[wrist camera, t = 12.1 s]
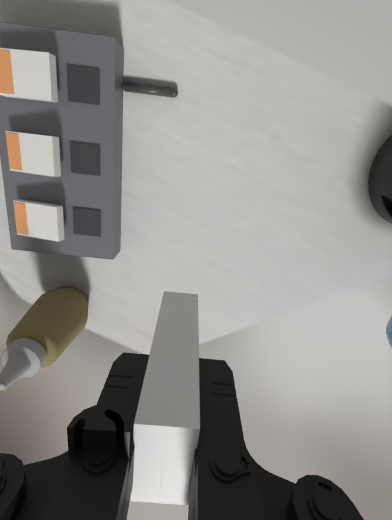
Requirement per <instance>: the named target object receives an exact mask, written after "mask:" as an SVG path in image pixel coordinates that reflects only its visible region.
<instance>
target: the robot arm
mask: <svg viewBox="0 0 392 520" xmlns="http://www.w3.org/2000/svg"><path fill="white" fill-rule="evenodd" d="M369 194H370V199H371V202H372V204H373V206H374V208H375V210H376V211H377V212H378V213H379V215H380V216H381V217H383V218H384V219H385V220H387V221H388V222H390V223H392V135H391V136H390V137H389V139H388V140H387V141H386V142H385V143H384V145H383V146H382V147H381V149H380V150H379V152H378V154H377V156H376V158H375V160H374V162H373V165H372V168H371V171H370V176H369ZM386 334H387V338H388V340H389V344H390V345H391V348H392V317H391V318H390V320H389V322H388V324H387V327H386ZM67 435H68V451H67V452H65V453H63V454H61V455H60V456H57V457H54V458H51V459H47V460H44V461H40V462H35V463H31V464H27V465H23V463H22V460H20V459H19V458H17V457H16V456H15V455H11V454H3V453H1V454H0V520H126V519H127V513H128V507H129V502H130V501H138V502H153V503H167V504H181V505H188V502H189V512H188V514H189V515H188V520H364V519H363V518H362V516H361V515H360V513H359V512H358V510H357V509H356V507H355V505H354V504H353V502H352V501H351V500H350V499H349V497H348V496H347V495H346V494H345V493H344V491H343V490H342V489H341V488H339V487H338V486H337V485H335V484H334V483H333V482H332V481H330V480H328V479H326V478H323V477H321V476H318V475H306V476H304V477H302V478H301V479H298V481H297V483H296V484H295V483H293V482H290V481H288V480H286V479H283V478H281V477H279V476H276V475H274V474H272V473H270V472H268V471H266V470H265V469H263V468H262V467H261V466H260V465H258V464H257V463H256V462H255V460H254V459H253V458H252V457H251V456H250V454H249V452H248V450H247V448H246V445H245V442H244V437H243V432H242V425H241V420H240V414H239V408H238V402H237V398H236V390H235V387H234V378H233V373H232V370H231V369H230V368H229V366H228V365H227V363H226V362H225V361H224V360H213V359H202V358H199V335H198V295H196V294H186V293H176V292H166V291H164V294H163V298H162V303H161V307H160V312H159V316H158V320H157V325H156V329H155V333H154V338H153V342H152V347H151V351H150V355H146V354H134V353H123V354H121V355H120V356H119V357H118V358H117V359H116V360H115V361H114V362H113V365H112V367H111V369H110V372H109V375H108V377H107V380H106V382H105V385H104V388H103V390H102V392H101V395H100V397H99V400H98V402H97V405H95V406H93V407H90V408H87V409H85V410H84V411H82V412H81V413H80V414H78V415H77V416H75V417H74V418H73V420H72V421H71V423H70V424H69V426H68V427H67Z"/></svg>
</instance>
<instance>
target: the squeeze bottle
mask: <svg viewBox="0 0 392 520" xmlns="http://www.w3.org/2000/svg"><path fill="white" fill-rule="evenodd" d="M87 317H88V302H87V299H86V297H85V296H84V294H83V293H81V292H80V291H79V290H77V289H74V288H71V287H63V288H60V289H56V290H53V291H50V292H47V293H45V294H42V295H41V296H40V297H39V298H38V300H37V301H36V302H35V303H34V304H33V306H32V307H31V308H30V309H29V310H28V312H27V313H26V314H25V315H24V317H23V318H22V319H21V320H20V322H19V323H18V324H17V325H16V327H15V328H14V329H13V330H12V331H11V333H10V334H9V335H8V338H7V343H6V344H7V348H6V349H5V350H4V351H3V352H2V355H1V361H2V364H3V366H4V368H3V370H2V372H1V374H0V390H4V389H6V388H7V387H8V386H10V385H11V384H12V383H13V382H15V381H16V380H17V379H18V378H19V377H30V376H33V375H35V374H36V373H37V372H38V371H39V370H40V369H41V368H43V367H46V366H49V365H51V364H52V363H53V362H54V361H55V360H56V359H57V358H58V357H59V356H60V355H61V354H62V352H63V351H64V350H65V349H66V348H67V347H68V346H69V344H70V343H71V342H72V341H73V340H74V339H75V337H76V336H77V335H78V334H79V333H80V332H81V330H82V329H83V328H84V327H85V325H86V322H87Z"/></svg>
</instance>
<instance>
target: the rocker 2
mask: <svg viewBox="0 0 392 520" xmlns="http://www.w3.org/2000/svg"><path fill="white" fill-rule="evenodd" d="M13 203H14V211H15V220H16V229H17V234H18V235H23V236H29V237H35V238H40V239H46V240H52V241H57V242H59V241H62V240H64V239H65V238H64V220H63V206H60V205H54V204H47V203H41V202H35V201H28V200H22V199H19V200H13Z"/></svg>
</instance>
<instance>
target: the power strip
mask: <svg viewBox="0 0 392 520" xmlns="http://www.w3.org/2000/svg"><path fill="white" fill-rule="evenodd" d="M0 48H6V49H17V50H27V51H38V52H49V53H51V54H52V55H54V56H56V74H57V93H58V103H57V102H48V101H39V100H29V99H20V98H11V97H5V96H2V95H0V157H1V166H2V174H3V182H4V190H5V198H6V206H7V214H8V222H9V230H10V239H11V247H12V249H14V250H24V251H34V252H44V253H54V254H64V255H73V256H83V257H93V258H103V259H114V258H115V257H116V255H117V254H118V253H119V251H120V237H121V179H122V122H123V90H124V91H127V92H135V93H143V94H151V95H159V96H167V97H176V96H177V95H178V91H177V90H176V89H175V88H168V87H160V86H152V85H144V84H136V83H129V82H124V83H123V64H124V49H123V48H122V47H121V45H120V44H119V42H118V41H117V39H116V38H115V37H110V36H102V35H94V34H87V33H79V32H72V31H64V30H57V29H49V28H42V27H34V26H26V25H19V24H11V23H4V22H0ZM6 131H11V132H20V133H28V134H37V135H45V136H54V137H59V148H60V167H61V176H59V177H52V176H45V175H38V174H31V173H24V172H17V171H10V166H9V158H8V149H7V140H6ZM19 199H22V200H28V201H35V202H41V203H47V204H54V205H60V206H63V220H64V238H65V239H64V240H62V241H59V242H57V241H52V240H46V239H40V238H35V237H29V236H23V235H18V234H17V229H16V220H15V211H14V203H13V200H19Z"/></svg>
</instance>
